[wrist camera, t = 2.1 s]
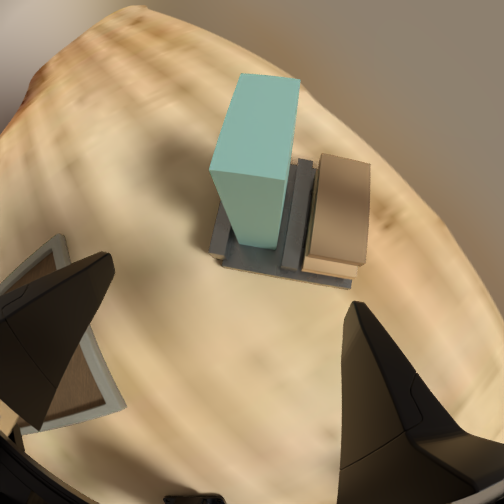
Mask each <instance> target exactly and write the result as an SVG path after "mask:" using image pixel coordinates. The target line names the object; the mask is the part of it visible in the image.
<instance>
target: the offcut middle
mask: <svg viewBox="0 0 504 504" xmlns="http://www.w3.org/2000/svg"><path fill="white" fill-rule="evenodd" d="M317 178H318V169H316V172H315V175H314V183H313V191H312V199H311V207H310V214H309V222H308V229H307V236H306V243H305V249H304V256H303V262H302V268H301V271H304V272H310V273H316V274H322V275H327V276H333V277H339V278H345V279H350V280H352V279H355V278H357V270H358V266H354V265H348V264H343V263H337V262H332V261H326V260H321V259H315V258H309V257H307V255H308V248H309V241H310V234H311V227H312V220H313V212H314V204H315V196H316V187H317Z"/></svg>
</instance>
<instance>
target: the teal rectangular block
mask: <svg viewBox="0 0 504 504" xmlns="http://www.w3.org/2000/svg"><path fill="white" fill-rule="evenodd" d="M299 89H300V80H299V79H293V78H285V77H277V76H268V75H257V74H243V73H241V75H240V77H239V80H238V83H237V86H236V88H235V91H234V94H233V97H232V99H231V102H230V105H229V108H228V111H227V114H226V117H225V120H224V123H223V126H222V129H221V132H220V135H219V138H218V141H217V144H216V148H215V151H214V154H213V157H212V161H211V164H210V167H209V172H210V174H211V177H212V179H213V181H214V184H215V186H216V189H217V191H218V194H219V196H220V199H221V201H222V204H223V206H224V209H225V211H226V213H227V216H228V218H229V221H230V223H231V226H232V228H233V230H234V233H235V235H236V238H237V240H238V243H239V244H242V245H248V246H254V247H259V248H265V249H270V250H276V247H277V242H278V236H279V230H280V225H281V219H282V213H283V207H284V201H285V195H286V189H287V183H288V176H289V168H290V161H291V154H292V146H293V138H294V130H295V122H296V114H297V106H298V98H299Z"/></svg>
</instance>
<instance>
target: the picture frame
mask: <svg viewBox="0 0 504 504" xmlns="http://www.w3.org/2000/svg"><path fill="white" fill-rule="evenodd" d="M70 264H71V261H70V257H69V253H68V249H67V245H66V240H65V236H64V235H62V234H57V235H55V236H54V237H53V238H51V239H50V240H49V241H48V242H46V243H45V244H44V245H43V246H41V247H40V248H39V249H38V250H37V251H36V252H34V253H33V254H32V255H31V256H30V257H29V258H27V259H26V260H25V261H24V262H23V263H22V264H21V265H20V266H19V267H17V268H16V269H15V270H14V271H13V272H12V273H11V274H10V275H9V276H8V277H7V278H6V279H5V280H4V281H3V282H2V283H1V284H0V296H1V295H3V294H5V293H8V292H10V291H12V290H15V289H17V288H19V287H21V286H23V285H25V284H28V283H30V282H32V281H34V280H36V279H38V278H41V277H43V276H45V275H47V274H49V273H52V272H54V271H56V270H58V269H61V268H63V267H65V266H68V265H70ZM56 390H57V391H56V393H55V395H54V398H53V400H52V402H51V405H50V407H49V410H48V412H47V415H46V417H45V420H44V422H43V425H42V428H41V430H40V431H38V430H36V429H35V428H34V427H32V426H31V425H30V424H28V423H27V422H26V421H25V420H23V419H22V418H21V417H20V416H19V418H18V420H17V422H16V423H17V424H18V425H19V426H20V431H21V435H27V434H32V433H38V432H43V431H47V430H52V429H57V428H61V427H65V426H69V425H73V424H77V423H81V422H85V421H88V420H92V419H95V418H99V417H102V416H106V415H109V414H112V413H115V412H118V411H121V410H123V409H125V408H127V405H126V403H125V401H124V399H123V397H122V395H121V393H120V391H119V390H118V388H117V386H116V384H115V382H114V379H113V377H112V375H111V373H110V371H109V369H108V367H107V365H106V362H105V360H104V358H103V356H102V353H101V351H100V349H99V346H98V344H97V341H96V339H95V336H94V334H93V331H92V328H91V326H90V324H89V326H88V328H87V330H86V332H85V333H84V335H83V337H82V339H81V341H80V343H79V345H78V347H77V349H76V351H75V352H74V354H73V356H72V358H71V360H70V363H69V365H68V367H67V369H66V371H65V373H64V375H63V377H62V379H61V382H60V384H59V386H58V388H57V389H56Z"/></svg>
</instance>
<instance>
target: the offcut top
mask: <svg viewBox="0 0 504 504" xmlns="http://www.w3.org/2000/svg"><path fill="white" fill-rule="evenodd" d="M369 209H370V164H368V163H364V162H360V161H356V160H352V159H347V158H343V157H338V156H334V155H329V154H324V153H322V154H321V157H320V160H319V169H318V178H317V187H316V196H315V204H314V212H313V220H312V227H311V234H310V241H309V248H308V255H307V257H309V258H315V259H321V260H326V261H332V262H337V263H343V264H348V265H354V266H359V267H360V266H362V265H364V264H365V263H366V253H367V241H368V227H369Z"/></svg>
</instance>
